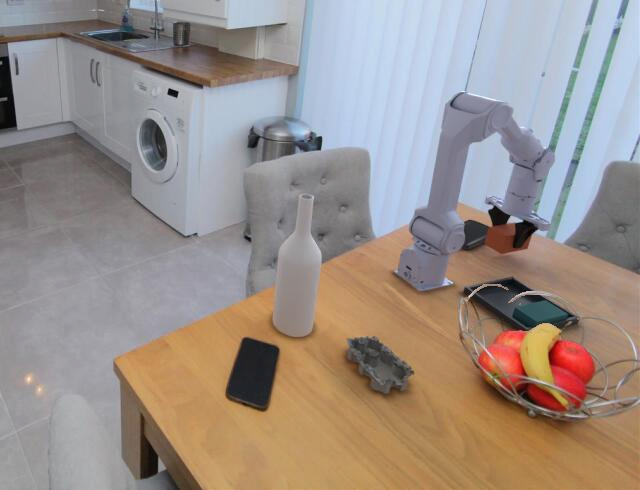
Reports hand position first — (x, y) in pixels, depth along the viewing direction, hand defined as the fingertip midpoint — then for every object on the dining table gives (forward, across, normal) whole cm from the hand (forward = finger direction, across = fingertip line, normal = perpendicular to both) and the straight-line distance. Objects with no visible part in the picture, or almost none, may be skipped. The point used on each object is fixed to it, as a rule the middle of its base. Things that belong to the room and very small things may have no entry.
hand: (507, 241), depth 118 cm
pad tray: (+4, -16, +15) cm, 22 cm away
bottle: (+5, -7, +63) cm, 63 cm away
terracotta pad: (+1, 0, 0) cm, 1 cm away
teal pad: (+4, -20, +15) cm, 25 cm away
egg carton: (+5, -22, +55) cm, 59 cm away
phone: (+4, +10, 0) cm, 11 cm away
